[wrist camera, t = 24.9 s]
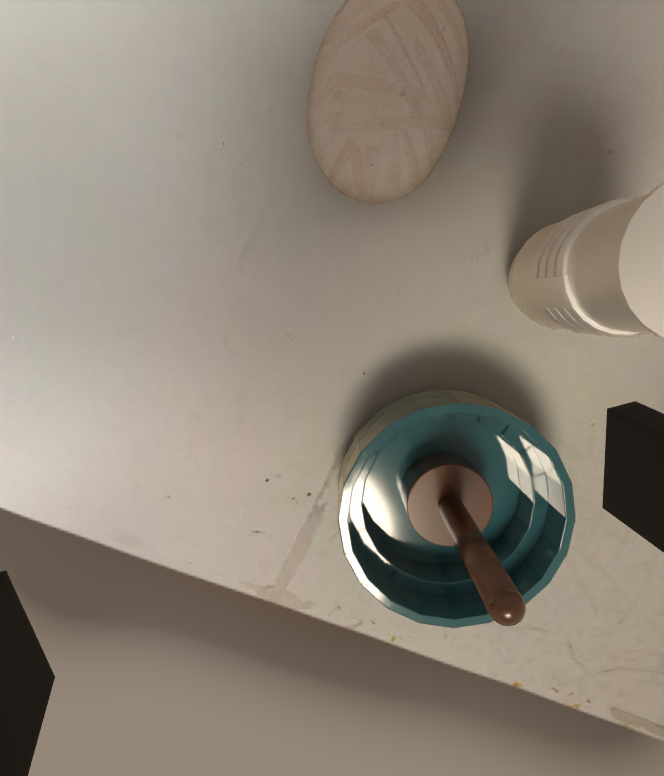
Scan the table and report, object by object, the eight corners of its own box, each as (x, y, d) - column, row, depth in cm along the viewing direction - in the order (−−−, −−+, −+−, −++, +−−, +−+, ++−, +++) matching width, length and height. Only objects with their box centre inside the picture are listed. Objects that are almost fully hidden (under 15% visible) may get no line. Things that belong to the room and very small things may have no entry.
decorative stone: (353, -23, 33) (355, -81, 28) (486, 31, 33) (512, -16, 28) (283, 179, 35) (274, 158, 30) (410, 228, 35) (422, 216, 30)
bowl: (325, 563, 39) (323, 609, 33) (355, 374, 37) (358, 387, 31) (516, 590, 39) (547, 641, 33) (556, 404, 37) (598, 422, 31)
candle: (487, 247, 35) (594, 205, 21) (587, 209, 35) (771, 139, 20) (517, 343, 36) (640, 370, 22) (616, 308, 36) (811, 310, 21)
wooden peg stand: (395, 522, 38) (434, 667, 23) (408, 446, 37) (457, 544, 22) (473, 533, 38) (563, 685, 23) (488, 457, 37) (592, 563, 22)
